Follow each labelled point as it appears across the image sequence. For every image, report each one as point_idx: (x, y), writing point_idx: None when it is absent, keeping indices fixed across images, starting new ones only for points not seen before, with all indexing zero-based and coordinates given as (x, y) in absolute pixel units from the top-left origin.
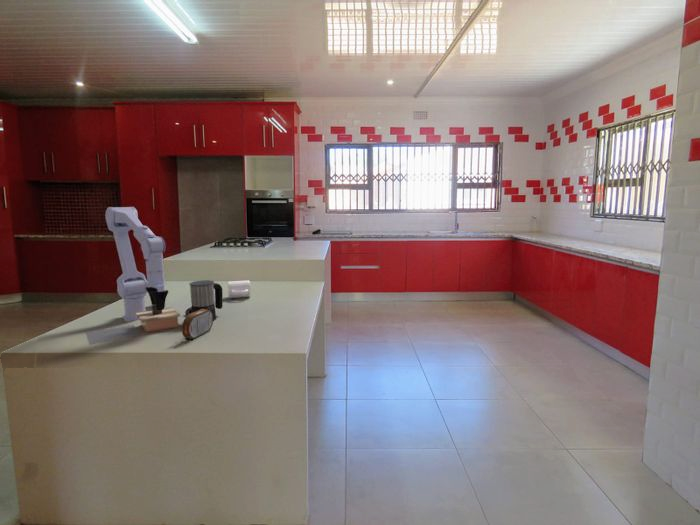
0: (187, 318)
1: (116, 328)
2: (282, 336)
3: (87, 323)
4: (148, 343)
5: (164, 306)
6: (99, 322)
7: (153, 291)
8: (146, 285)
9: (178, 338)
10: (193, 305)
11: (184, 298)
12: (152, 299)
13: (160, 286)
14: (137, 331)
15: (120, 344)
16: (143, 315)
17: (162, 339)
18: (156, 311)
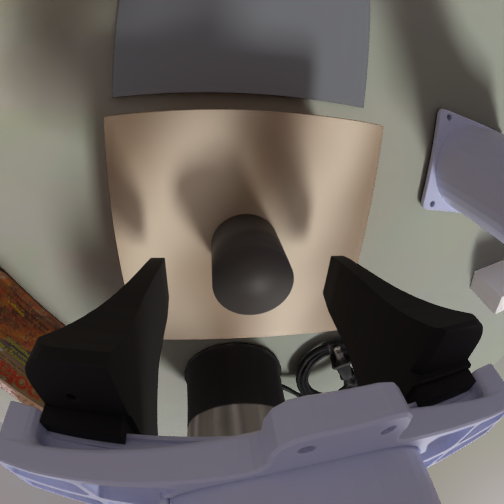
0: None
1: (352, 21)
2: (2, 408)
3: (500, 17)
4: (3, 128)
5: (477, 292)
6: (494, 45)
7: (85, 388)
8: (266, 439)
9: (16, 245)
10: (223, 409)
11: (494, 340)
12: (356, 289)
13: (11, 469)
14: (202, 87)
15: (58, 10)
16: (254, 148)
17: (24, 187)
18: (214, 247)
